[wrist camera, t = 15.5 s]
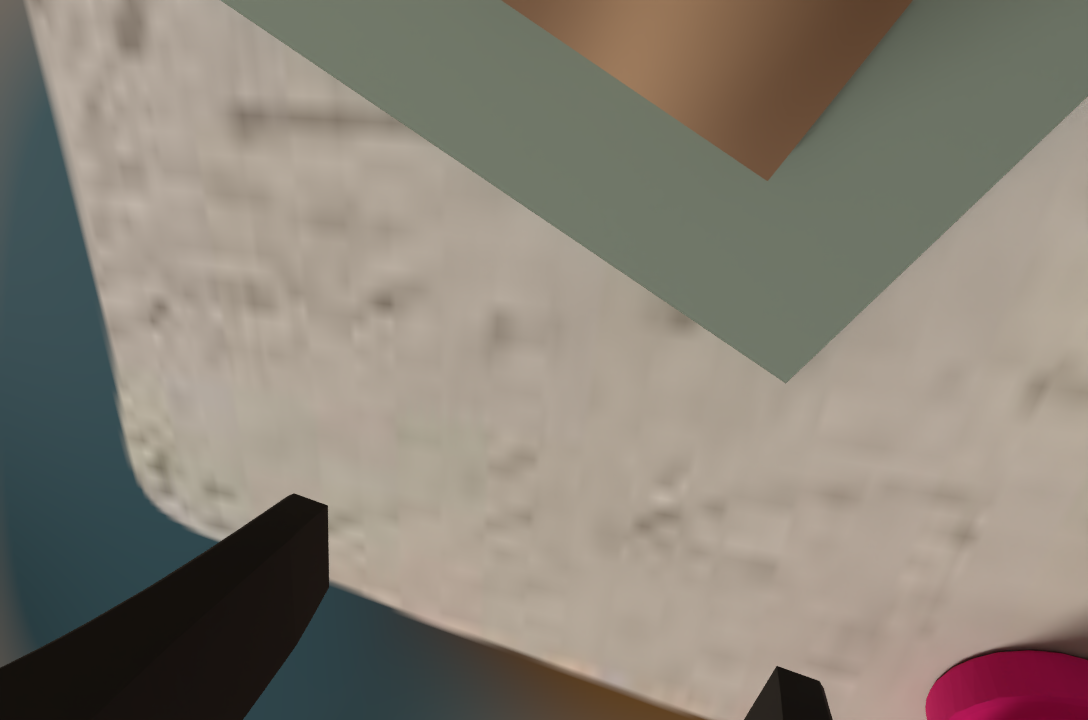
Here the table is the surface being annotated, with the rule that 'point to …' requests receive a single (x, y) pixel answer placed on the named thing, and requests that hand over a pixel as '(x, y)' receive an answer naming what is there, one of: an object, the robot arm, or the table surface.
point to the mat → (705, 170)
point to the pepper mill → (1012, 688)
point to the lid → (727, 60)
